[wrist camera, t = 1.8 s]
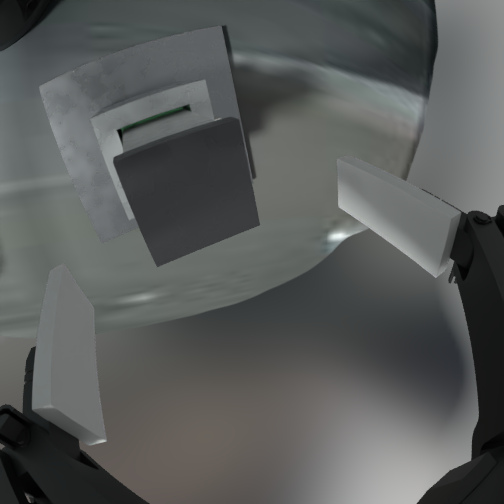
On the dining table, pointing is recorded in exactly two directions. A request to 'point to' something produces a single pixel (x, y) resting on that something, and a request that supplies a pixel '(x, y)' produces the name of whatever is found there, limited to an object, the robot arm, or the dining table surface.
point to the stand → (132, 111)
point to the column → (186, 181)
